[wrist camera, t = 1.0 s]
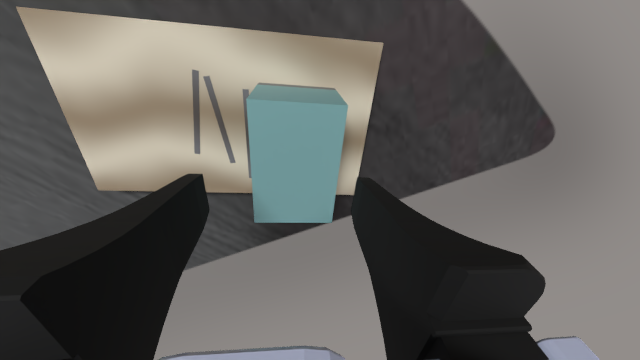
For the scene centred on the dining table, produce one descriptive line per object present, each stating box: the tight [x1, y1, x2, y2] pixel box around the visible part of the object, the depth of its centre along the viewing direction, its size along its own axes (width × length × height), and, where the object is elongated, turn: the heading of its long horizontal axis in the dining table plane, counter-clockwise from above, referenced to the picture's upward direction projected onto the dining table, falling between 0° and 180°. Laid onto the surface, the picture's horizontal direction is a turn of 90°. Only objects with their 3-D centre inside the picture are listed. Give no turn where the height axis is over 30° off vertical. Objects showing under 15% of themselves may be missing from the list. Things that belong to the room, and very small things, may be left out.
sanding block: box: [246, 83, 348, 223], centre depth 17 cm, size 8×5×5 cm, turn 175°
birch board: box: [16, 7, 383, 195], centre depth 18 cm, size 12×21×2 cm, turn 85°
